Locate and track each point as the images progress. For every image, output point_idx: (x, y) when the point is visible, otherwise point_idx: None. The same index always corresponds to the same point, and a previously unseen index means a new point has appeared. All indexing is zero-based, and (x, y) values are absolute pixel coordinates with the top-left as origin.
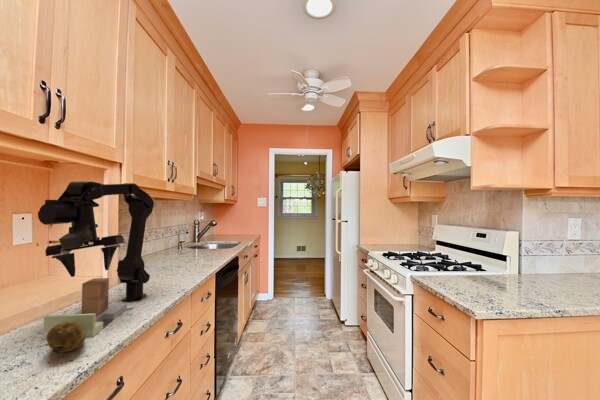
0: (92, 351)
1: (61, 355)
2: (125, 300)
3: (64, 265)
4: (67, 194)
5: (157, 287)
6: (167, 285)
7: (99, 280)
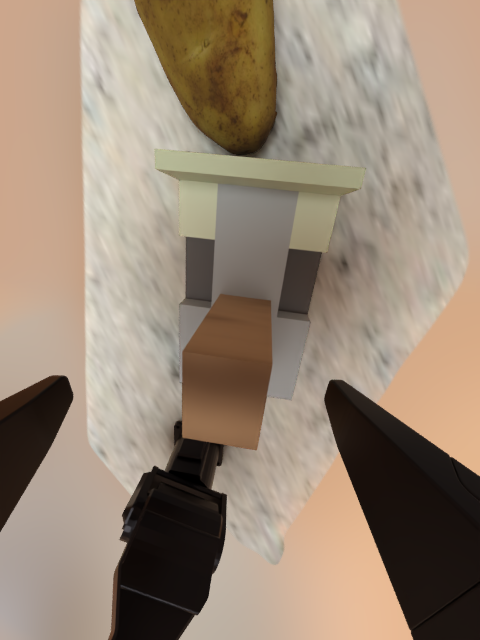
0: (130, 28)
1: None
2: None
3: (474, 474)
4: None
5: None
6: None
7: (206, 405)
